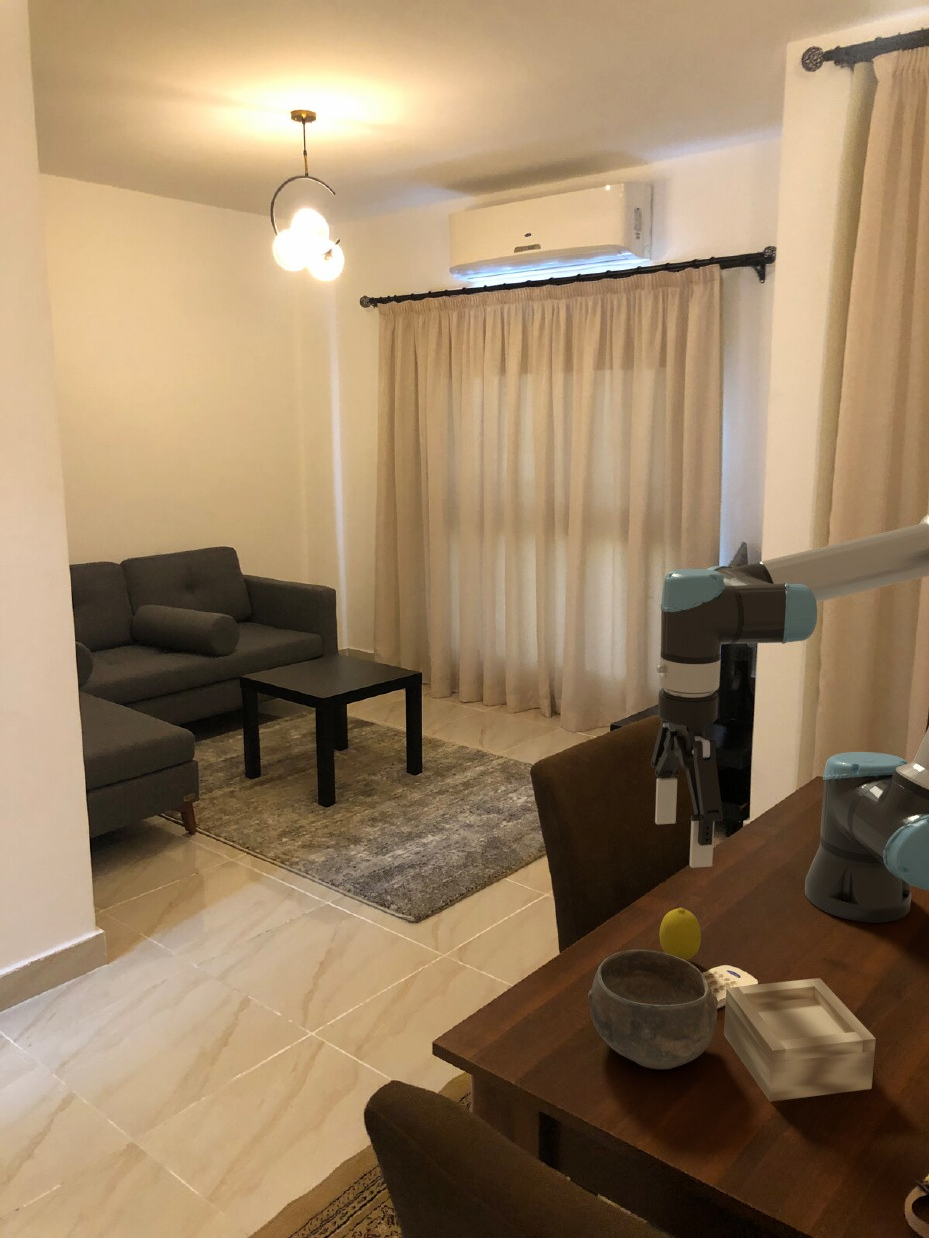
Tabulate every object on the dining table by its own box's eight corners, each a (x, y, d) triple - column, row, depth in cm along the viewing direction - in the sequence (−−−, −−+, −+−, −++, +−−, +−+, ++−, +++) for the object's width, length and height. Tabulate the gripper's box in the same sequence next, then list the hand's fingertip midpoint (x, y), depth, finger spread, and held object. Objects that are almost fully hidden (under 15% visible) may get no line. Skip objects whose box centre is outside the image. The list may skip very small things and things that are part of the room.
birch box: (816, 1025, 120) (819, 977, 118) (871, 1090, 108) (875, 1038, 107) (723, 1036, 118) (726, 987, 117) (769, 1103, 106) (772, 1050, 105)
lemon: (700, 975, 130) (702, 920, 129) (658, 970, 131) (660, 916, 130) (699, 953, 136) (701, 900, 134) (658, 949, 137) (660, 896, 135)
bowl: (695, 1108, 105) (699, 1025, 103) (564, 1065, 113) (564, 986, 111) (728, 1037, 117) (732, 962, 115) (607, 1002, 125) (609, 930, 123)
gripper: (631, 667, 137) (627, 808, 142) (695, 719, 113) (688, 888, 117) (682, 665, 138) (677, 805, 143) (757, 716, 114) (747, 884, 118)
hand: (682, 843), depth 130 cm, fingers open, 13 cm apart
